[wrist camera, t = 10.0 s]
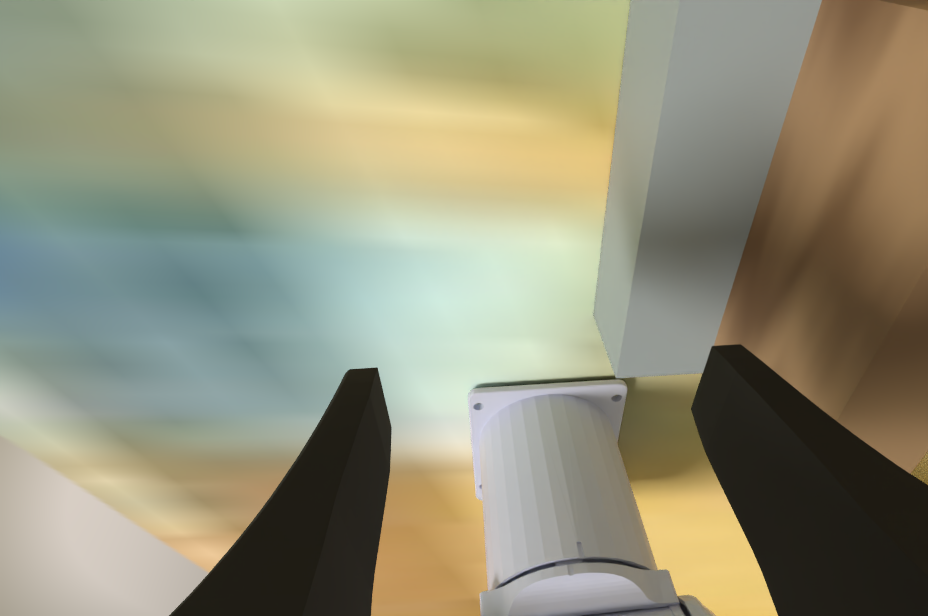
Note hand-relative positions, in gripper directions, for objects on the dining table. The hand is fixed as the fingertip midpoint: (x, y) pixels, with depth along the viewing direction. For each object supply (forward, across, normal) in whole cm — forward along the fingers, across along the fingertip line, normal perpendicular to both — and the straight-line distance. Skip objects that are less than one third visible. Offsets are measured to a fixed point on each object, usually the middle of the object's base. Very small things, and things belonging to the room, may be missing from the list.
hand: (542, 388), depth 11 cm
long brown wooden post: (+6, -9, 0) cm, 11 cm away
